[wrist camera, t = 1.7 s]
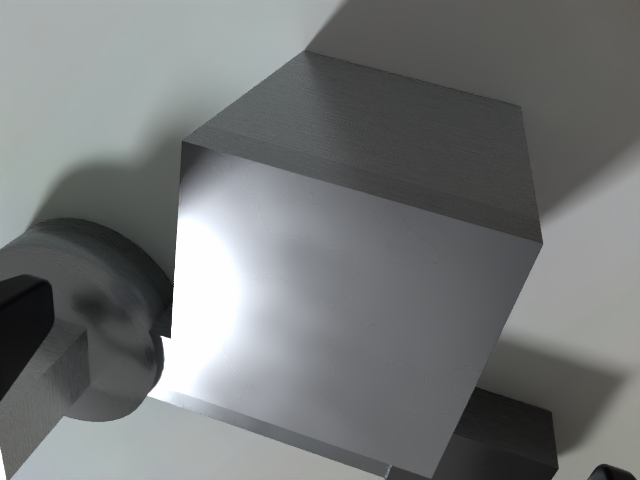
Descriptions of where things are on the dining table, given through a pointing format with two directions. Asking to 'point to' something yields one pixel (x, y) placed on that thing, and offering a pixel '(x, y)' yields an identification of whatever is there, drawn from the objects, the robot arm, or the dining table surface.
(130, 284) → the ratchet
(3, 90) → the dining table surface
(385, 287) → the brushed metal cube
